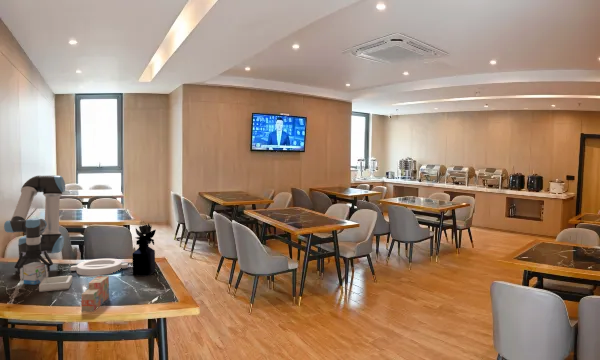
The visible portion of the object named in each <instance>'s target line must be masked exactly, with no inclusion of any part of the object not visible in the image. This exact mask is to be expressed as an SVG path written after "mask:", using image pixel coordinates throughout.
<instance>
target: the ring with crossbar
mask: <svg viewBox="0 0 600 360" xmlns="http://www.w3.org/2000/svg"><path fill="white" fill-rule="evenodd" d="M122 262H123V261H122V260H121V259H119V258H118V259H117V258H95V259H89V260H85V261H82V262H79V263H77V264H76V265H71V266H70V271H76V275H80V276H88V277H89V276H91V277H92V276H96V277H97V276H104V275H105V276H106V275H109V274H113V272H114V273H116V271H117V272H119V271H121V270H122V269H127V268H129V263H128V262H126V263H122ZM121 268H122V269H121ZM120 269H121V270H120ZM118 270H119V271H118Z"/></svg>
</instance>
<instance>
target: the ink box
mask: <svg viewBox="0 0 600 360" xmlns="http://www.w3.org/2000/svg"><path fill="white" fill-rule="evenodd" d="M44 278H47V277H46V265H45V264H44V263H43V262H41V263H40V262H33V263H30V264H27V265H23V285H32V286H34V285H39V284H40V283H41V282H42V280H43V279H44Z"/></svg>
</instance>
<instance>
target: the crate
mask: <svg viewBox="0 0 600 360" xmlns="http://www.w3.org/2000/svg"><path fill="white" fill-rule="evenodd" d="M72 284H73V275H60V276H59V275H58V276H50V277H49V276H48V277H46V278H44V279H43V280H42V282H41V283H39V284H38V286H39V287H38V291H39V293H41V292H49V291H60V290H69V289H70V287H71V285H72Z"/></svg>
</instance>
